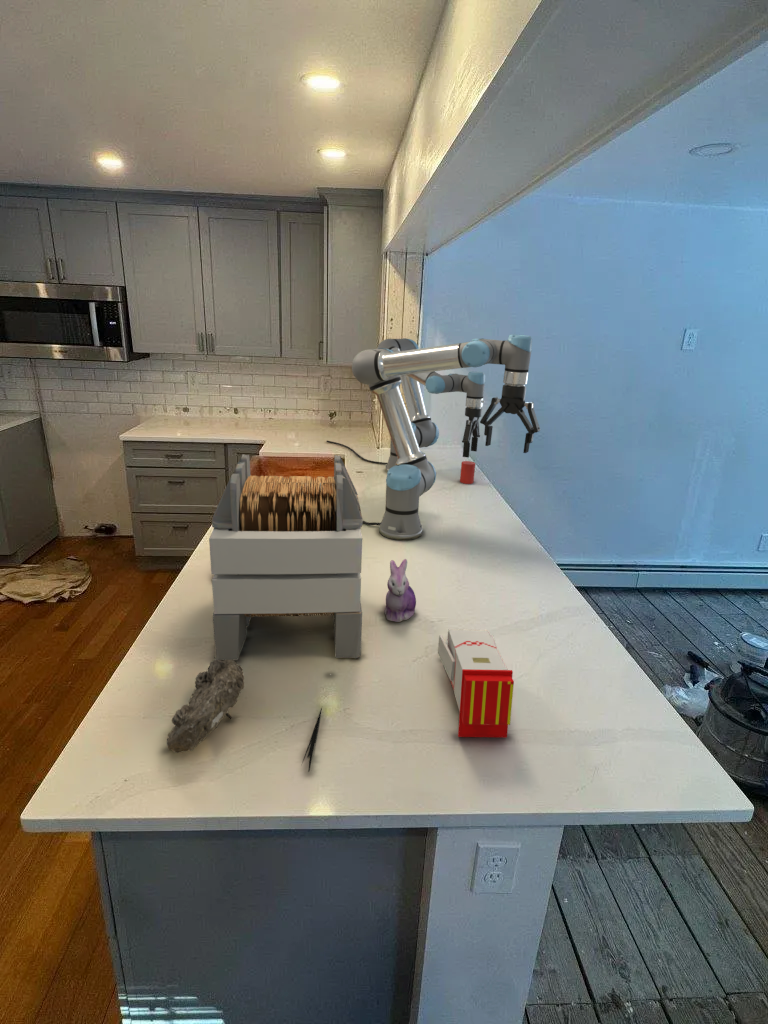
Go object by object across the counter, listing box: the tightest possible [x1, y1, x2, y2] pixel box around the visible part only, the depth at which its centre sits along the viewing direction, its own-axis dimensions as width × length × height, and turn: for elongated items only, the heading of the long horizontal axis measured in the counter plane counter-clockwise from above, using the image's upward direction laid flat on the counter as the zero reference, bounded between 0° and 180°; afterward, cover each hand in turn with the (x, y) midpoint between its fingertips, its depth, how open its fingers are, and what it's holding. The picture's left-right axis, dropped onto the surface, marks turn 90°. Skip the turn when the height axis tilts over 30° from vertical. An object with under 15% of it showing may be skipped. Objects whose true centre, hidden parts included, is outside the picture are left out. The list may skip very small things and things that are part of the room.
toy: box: [437, 628, 515, 738], centre depth 117 cm, size 12×13×30 cm
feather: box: [301, 673, 332, 771], centre depth 108 cm, size 2×28×2 cm
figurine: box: [384, 558, 417, 623], centre depth 145 cm, size 9×10×15 cm
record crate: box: [208, 453, 364, 661], centre depth 135 cm, size 34×33×41 cm
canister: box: [459, 460, 476, 485], centre depth 263 cm, size 6×6×9 cm
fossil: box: [166, 659, 245, 754], centre depth 106 cm, size 22×10×15 cm
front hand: (506, 448), depth 191 cm, fingers open, 13 cm apart
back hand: (469, 454), depth 260 cm, fingers open, 13 cm apart
